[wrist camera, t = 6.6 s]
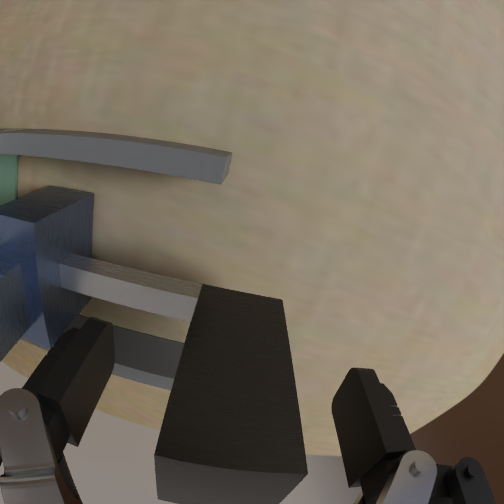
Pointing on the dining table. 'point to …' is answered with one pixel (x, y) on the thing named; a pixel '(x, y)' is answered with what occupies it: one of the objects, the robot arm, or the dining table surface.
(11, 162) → the pitch
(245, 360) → the striker
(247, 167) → the dining table surface
